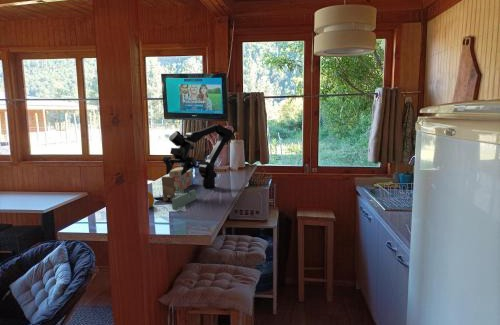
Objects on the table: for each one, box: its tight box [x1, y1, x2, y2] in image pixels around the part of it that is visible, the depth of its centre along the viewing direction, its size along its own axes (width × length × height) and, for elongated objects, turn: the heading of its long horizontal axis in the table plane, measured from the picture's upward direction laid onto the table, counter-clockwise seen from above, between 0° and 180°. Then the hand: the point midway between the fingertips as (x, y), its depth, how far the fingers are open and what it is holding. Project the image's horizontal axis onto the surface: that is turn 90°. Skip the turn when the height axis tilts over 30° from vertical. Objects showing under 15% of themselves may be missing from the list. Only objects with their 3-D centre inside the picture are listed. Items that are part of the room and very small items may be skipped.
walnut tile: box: [161, 176, 176, 202], centre depth 192 cm, size 2×6×12 cm, turn 69°
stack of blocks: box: [168, 166, 194, 192], centre depth 223 cm, size 21×6×12 cm, turn 169°
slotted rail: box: [171, 189, 197, 210], centre depth 184 cm, size 20×2×5 cm, turn 159°
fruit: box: [147, 190, 155, 209], centre depth 179 cm, size 12×12×10 cm
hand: (174, 174), depth 197 cm, fingers open, 9 cm apart
